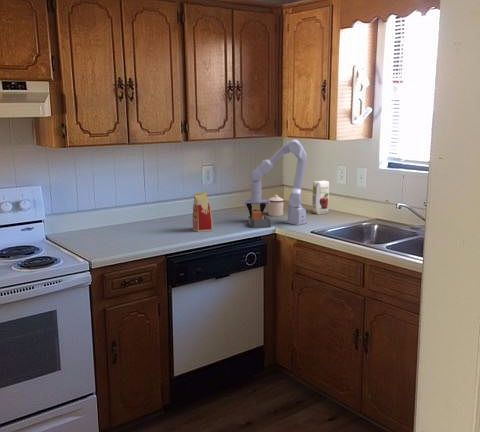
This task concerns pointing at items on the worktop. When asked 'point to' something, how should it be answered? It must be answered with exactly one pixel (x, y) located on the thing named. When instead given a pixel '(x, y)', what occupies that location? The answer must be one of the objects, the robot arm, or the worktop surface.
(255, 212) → the block
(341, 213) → the worktop surface
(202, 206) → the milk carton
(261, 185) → the robot arm
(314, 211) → the juice carton
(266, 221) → the coupler channel
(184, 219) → the worktop surface
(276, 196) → the teacup with lid
